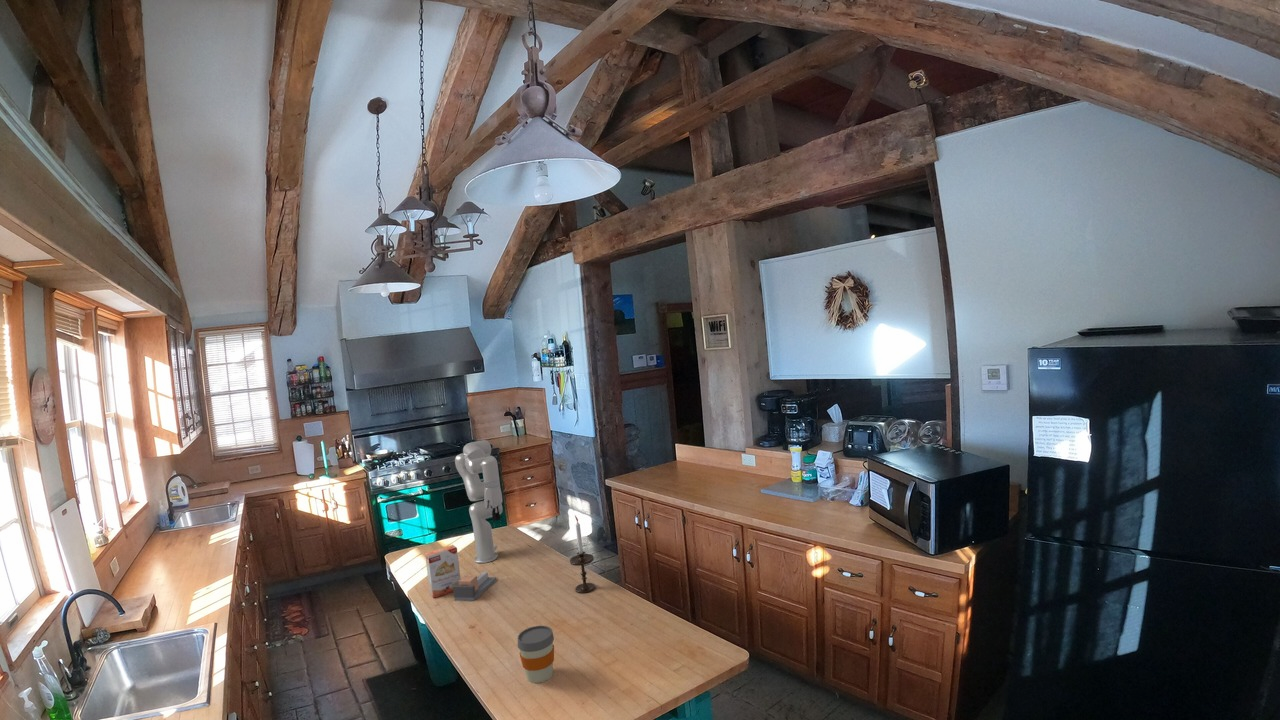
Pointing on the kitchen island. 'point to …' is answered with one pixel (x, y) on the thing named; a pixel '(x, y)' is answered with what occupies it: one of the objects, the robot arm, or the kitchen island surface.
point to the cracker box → (442, 570)
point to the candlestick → (582, 564)
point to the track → (480, 589)
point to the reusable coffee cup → (537, 653)
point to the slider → (469, 581)
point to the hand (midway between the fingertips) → (496, 520)
